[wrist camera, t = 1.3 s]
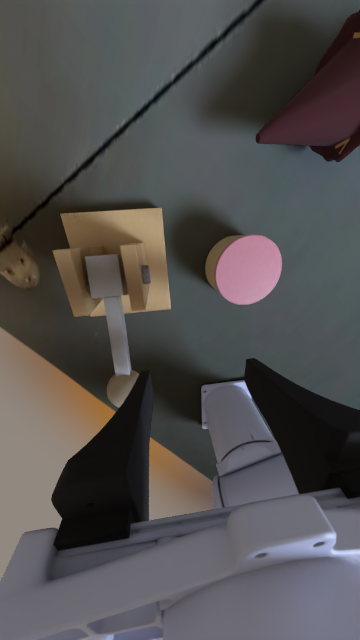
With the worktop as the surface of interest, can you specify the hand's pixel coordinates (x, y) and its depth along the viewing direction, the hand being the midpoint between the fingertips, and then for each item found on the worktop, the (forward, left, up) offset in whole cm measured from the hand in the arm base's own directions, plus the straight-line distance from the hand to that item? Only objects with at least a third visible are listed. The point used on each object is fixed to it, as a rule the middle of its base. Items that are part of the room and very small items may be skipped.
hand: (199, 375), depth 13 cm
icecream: (+18, -13, -11) cm, 25 cm away
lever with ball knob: (+2, +6, -4) cm, 7 cm away
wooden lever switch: (+7, +6, -10) cm, 14 cm away
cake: (+6, -6, -10) cm, 13 cm away
